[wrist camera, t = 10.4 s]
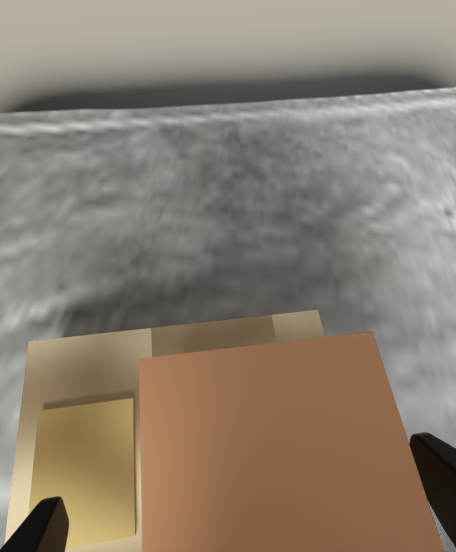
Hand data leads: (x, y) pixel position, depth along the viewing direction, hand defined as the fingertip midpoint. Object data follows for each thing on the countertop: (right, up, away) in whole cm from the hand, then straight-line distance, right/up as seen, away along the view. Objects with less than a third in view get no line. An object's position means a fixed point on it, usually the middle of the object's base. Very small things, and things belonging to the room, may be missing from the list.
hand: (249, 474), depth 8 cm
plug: (-1, -3, +8) cm, 9 cm away
